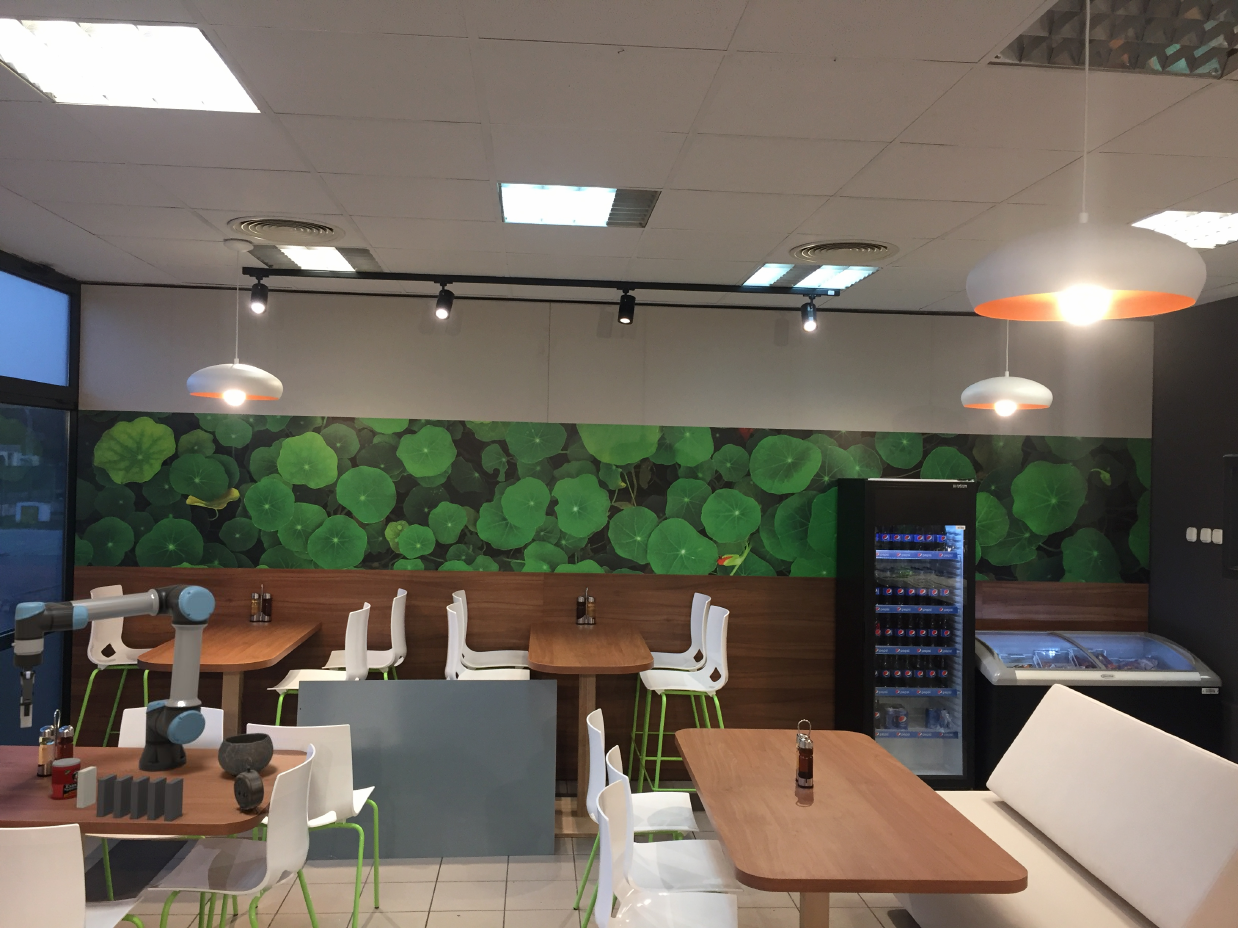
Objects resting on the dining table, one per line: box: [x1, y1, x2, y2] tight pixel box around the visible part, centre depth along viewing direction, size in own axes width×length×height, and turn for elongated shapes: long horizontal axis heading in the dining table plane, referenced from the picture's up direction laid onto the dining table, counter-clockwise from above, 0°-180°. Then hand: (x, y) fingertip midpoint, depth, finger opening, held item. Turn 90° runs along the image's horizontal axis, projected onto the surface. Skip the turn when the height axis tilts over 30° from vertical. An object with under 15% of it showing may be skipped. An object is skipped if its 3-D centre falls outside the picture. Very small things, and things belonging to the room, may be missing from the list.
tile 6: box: [163, 777, 184, 822], centre depth 260 cm, size 2×5×11 cm, turn 172°
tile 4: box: [129, 775, 151, 820], centre depth 261 cm, size 2×5×11 cm, turn 172°
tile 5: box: [146, 776, 168, 821], centre depth 260 cm, size 2×5×11 cm, turn 172°
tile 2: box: [96, 773, 118, 818], centre depth 263 cm, size 2×5×11 cm, turn 172°
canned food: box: [50, 757, 82, 801], centre depth 278 cm, size 8×8×11 cm
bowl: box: [217, 732, 275, 777], centre depth 303 cm, size 18×18×13 cm
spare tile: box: [76, 766, 98, 809], centre depth 270 cm, size 2×5×11 cm, turn 172°
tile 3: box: [112, 774, 134, 819], centre depth 262 cm, size 2×5×11 cm, turn 172°
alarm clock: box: [233, 758, 265, 815], centre depth 266 cm, size 11×5×16 cm, turn 50°
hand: (25, 722), depth 268 cm, fingers open, 13 cm apart
